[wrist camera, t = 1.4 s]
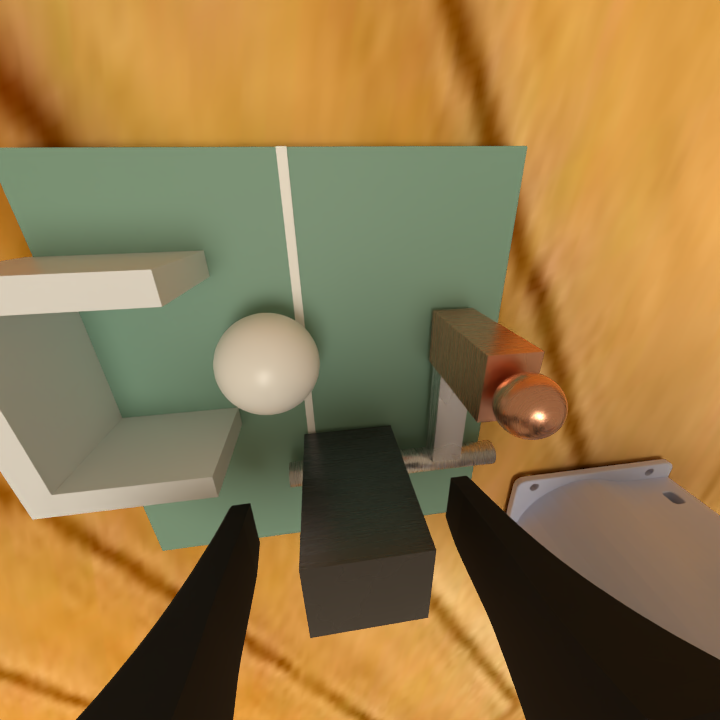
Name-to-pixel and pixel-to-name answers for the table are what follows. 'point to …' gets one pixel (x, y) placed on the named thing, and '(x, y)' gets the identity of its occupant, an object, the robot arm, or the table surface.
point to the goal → (95, 391)
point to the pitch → (281, 286)
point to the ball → (266, 363)
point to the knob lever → (391, 476)
